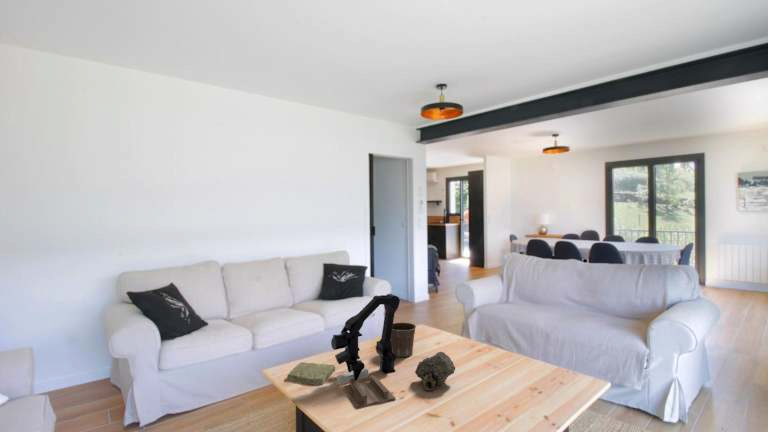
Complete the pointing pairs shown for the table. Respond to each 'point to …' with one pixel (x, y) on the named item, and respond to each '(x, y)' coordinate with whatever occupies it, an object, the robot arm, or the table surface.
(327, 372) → the decorative tile
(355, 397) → the walnut rack
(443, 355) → the rock
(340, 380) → the light gray rectangular bar
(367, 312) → the robot arm
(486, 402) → the table surface
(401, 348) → the plant pot
